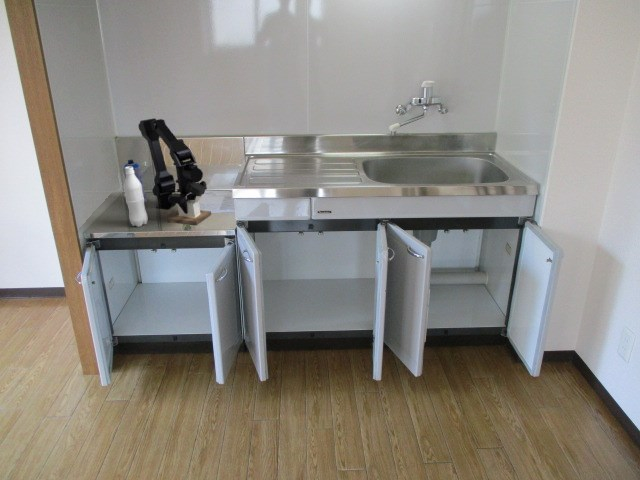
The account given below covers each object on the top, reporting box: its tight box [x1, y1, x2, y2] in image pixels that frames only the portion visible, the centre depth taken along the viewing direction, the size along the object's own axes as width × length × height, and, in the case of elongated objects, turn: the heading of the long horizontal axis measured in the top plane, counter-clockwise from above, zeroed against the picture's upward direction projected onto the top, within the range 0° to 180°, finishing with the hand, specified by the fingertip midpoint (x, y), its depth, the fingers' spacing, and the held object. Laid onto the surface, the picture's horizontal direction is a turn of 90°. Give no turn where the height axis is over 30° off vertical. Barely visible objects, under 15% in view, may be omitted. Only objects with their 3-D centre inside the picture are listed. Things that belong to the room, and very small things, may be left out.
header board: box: [167, 209, 212, 226], centre depth 216 cm, size 14×12×5 cm
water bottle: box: [122, 166, 148, 227], centre depth 206 cm, size 7×7×25 cm
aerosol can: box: [122, 159, 148, 203], centre depth 232 cm, size 8×8×20 cm
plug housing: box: [177, 199, 201, 217], centre depth 215 cm, size 8×4×6 cm, turn 71°
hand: (189, 211), depth 216 cm, fingers closed on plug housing, 4 cm apart
